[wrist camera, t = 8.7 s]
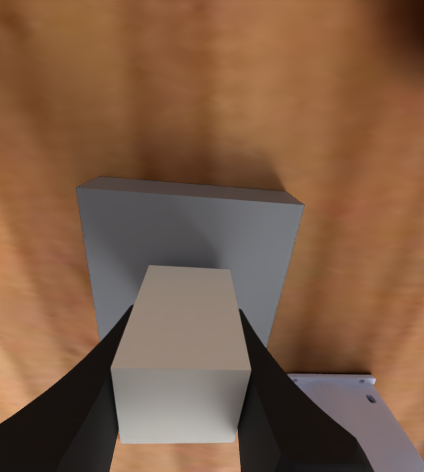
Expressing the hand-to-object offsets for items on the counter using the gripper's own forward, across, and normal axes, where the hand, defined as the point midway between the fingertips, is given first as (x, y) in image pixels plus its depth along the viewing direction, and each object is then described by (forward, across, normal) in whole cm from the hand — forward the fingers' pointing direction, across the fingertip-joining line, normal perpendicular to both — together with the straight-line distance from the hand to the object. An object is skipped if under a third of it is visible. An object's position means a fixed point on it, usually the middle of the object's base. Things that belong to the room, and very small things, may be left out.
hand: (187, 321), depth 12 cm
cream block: (+2, 0, 0) cm, 2 cm away
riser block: (+6, 0, 0) cm, 6 cm away
